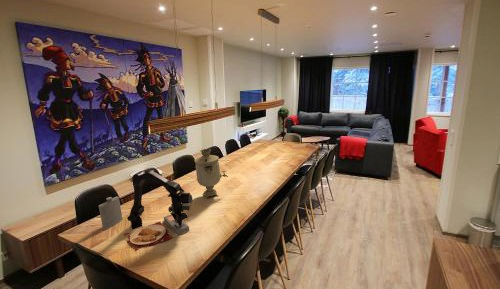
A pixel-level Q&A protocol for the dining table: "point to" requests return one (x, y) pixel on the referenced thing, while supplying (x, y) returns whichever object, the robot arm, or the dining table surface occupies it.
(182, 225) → the aluminium block
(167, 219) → the parts holder
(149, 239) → the plate with food
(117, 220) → the hip flask
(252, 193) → the dining table surface
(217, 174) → the samovar
